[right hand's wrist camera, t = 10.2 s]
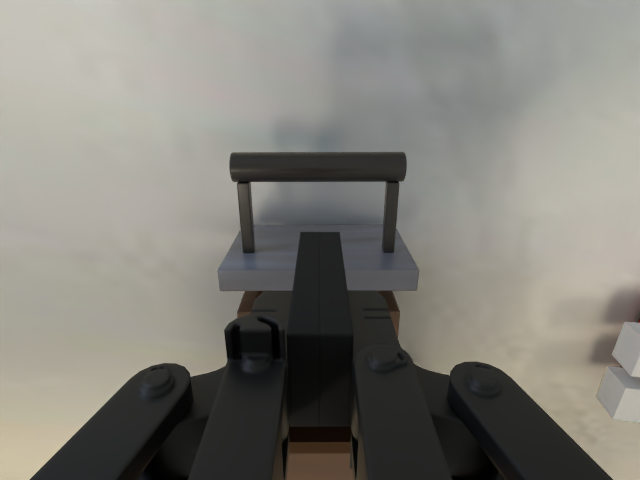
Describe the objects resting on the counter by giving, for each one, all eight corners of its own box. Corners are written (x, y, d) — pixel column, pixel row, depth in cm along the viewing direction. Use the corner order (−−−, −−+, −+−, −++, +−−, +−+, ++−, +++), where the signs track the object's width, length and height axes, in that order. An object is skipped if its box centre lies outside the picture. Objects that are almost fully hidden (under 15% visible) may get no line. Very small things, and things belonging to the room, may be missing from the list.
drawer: (235, 141, 23) (204, 160, 17) (400, 141, 23) (430, 160, 17) (258, 416, 31) (242, 499, 25) (380, 416, 31) (396, 498, 25)
